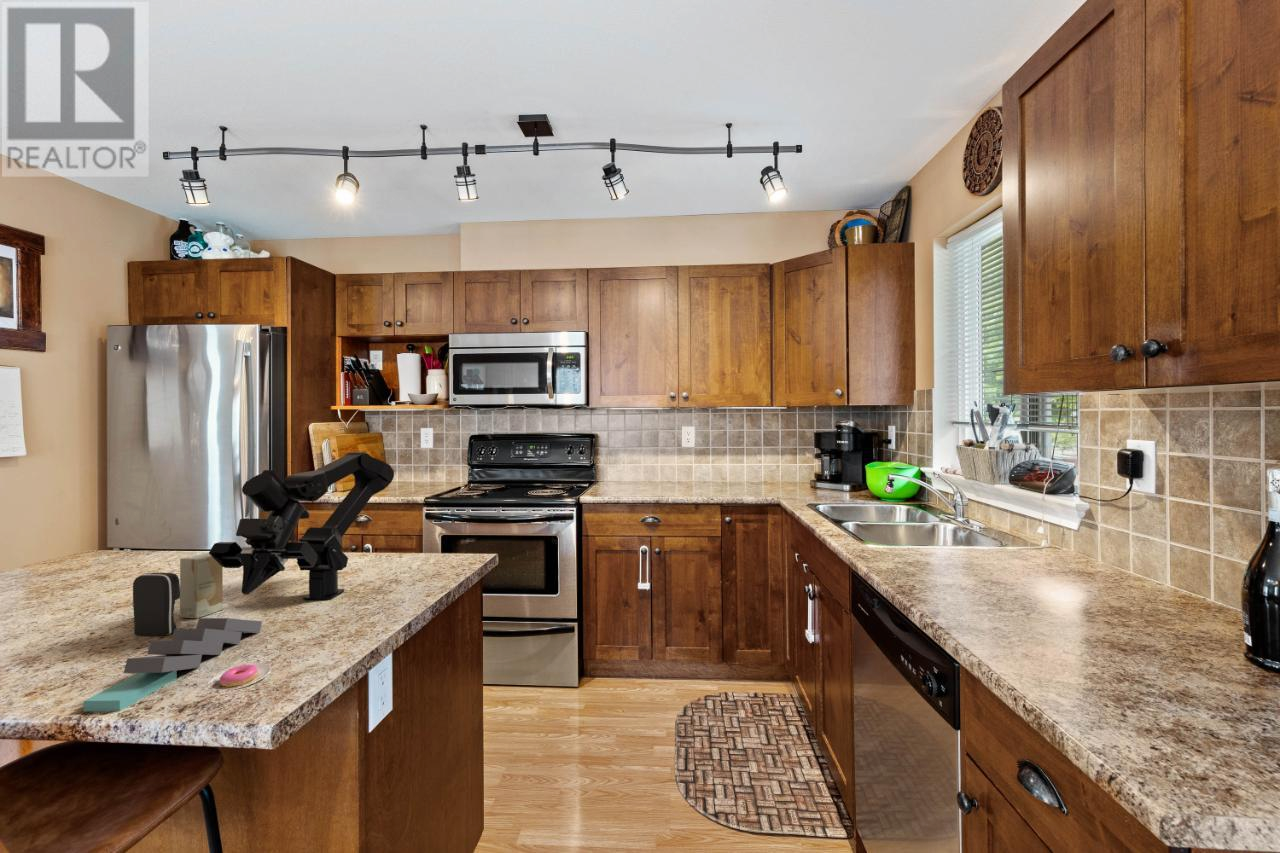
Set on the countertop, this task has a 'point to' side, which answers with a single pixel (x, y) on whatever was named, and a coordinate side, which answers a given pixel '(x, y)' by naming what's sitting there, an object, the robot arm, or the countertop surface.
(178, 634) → the domino
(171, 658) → the domino
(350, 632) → the countertop surface
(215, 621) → the domino
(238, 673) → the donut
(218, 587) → the skincare box
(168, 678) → the domino
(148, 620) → the black rounded upright block
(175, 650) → the domino
